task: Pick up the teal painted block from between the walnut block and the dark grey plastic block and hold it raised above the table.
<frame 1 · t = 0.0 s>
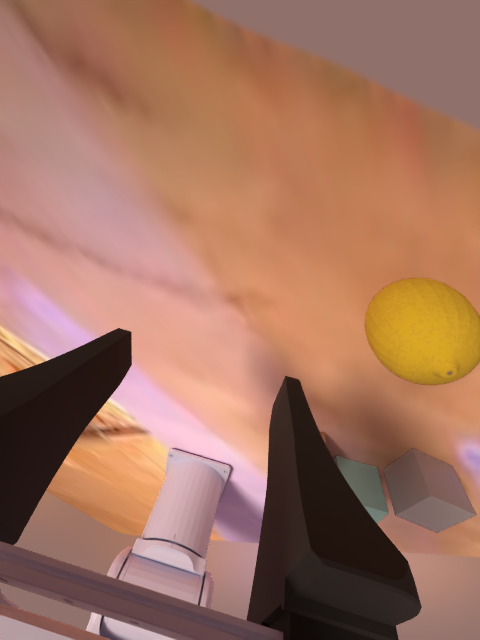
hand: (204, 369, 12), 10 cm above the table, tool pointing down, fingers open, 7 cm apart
grey block: (415, 466, 28), on the table
lemon: (395, 296, 20), on the table
teal block: (347, 471, 31), on the table
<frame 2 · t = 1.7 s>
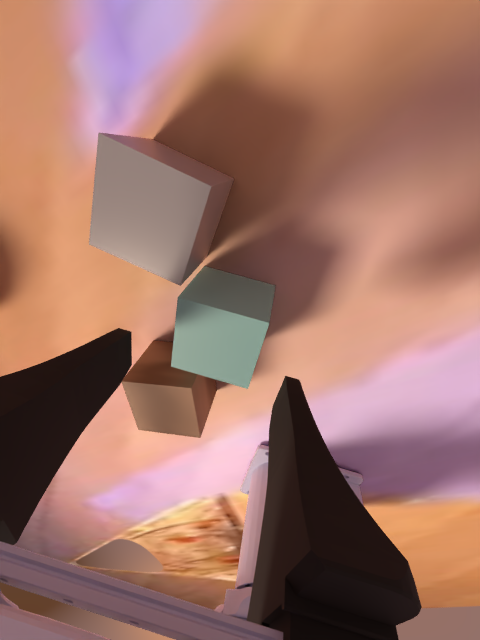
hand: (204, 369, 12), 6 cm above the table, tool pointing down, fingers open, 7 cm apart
grey block: (182, 202, 15), on the table
walnut block: (186, 365, 21), on the table
teal block: (232, 306, 18), on the table
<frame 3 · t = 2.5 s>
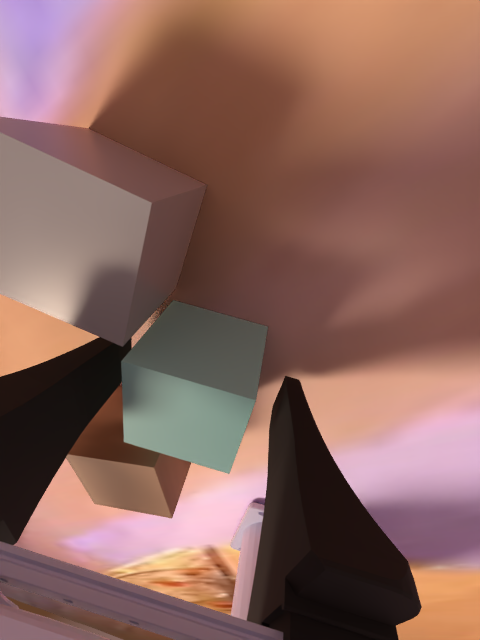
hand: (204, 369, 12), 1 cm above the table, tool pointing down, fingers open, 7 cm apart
grey block: (138, 217, 11), on the table
walnut block: (159, 414, 17), on the table
teal block: (213, 349, 14), on the table
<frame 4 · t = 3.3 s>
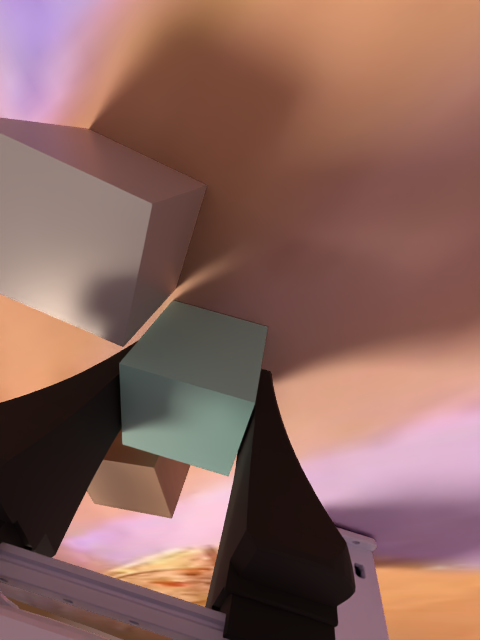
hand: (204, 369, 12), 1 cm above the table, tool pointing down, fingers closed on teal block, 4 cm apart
grey block: (138, 218, 11), on the table
walnut block: (159, 414, 17), on the table
teal block: (212, 350, 14), on the table, touching gripper
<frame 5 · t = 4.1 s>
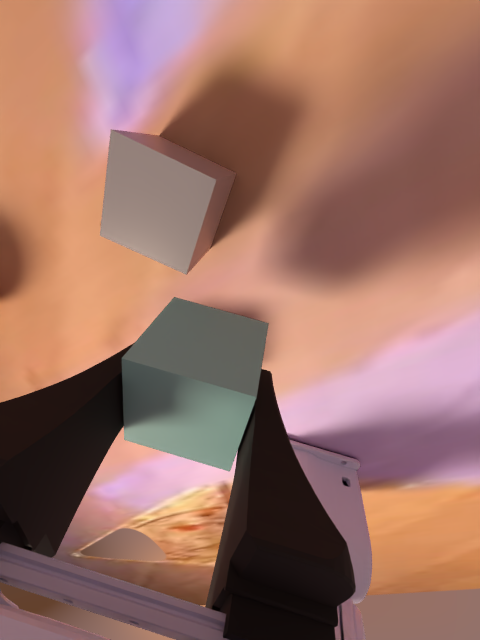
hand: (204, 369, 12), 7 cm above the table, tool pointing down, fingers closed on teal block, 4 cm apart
grey block: (187, 196, 16), on the table
teal block: (213, 347, 14), point 6 cm above the table, touching gripper
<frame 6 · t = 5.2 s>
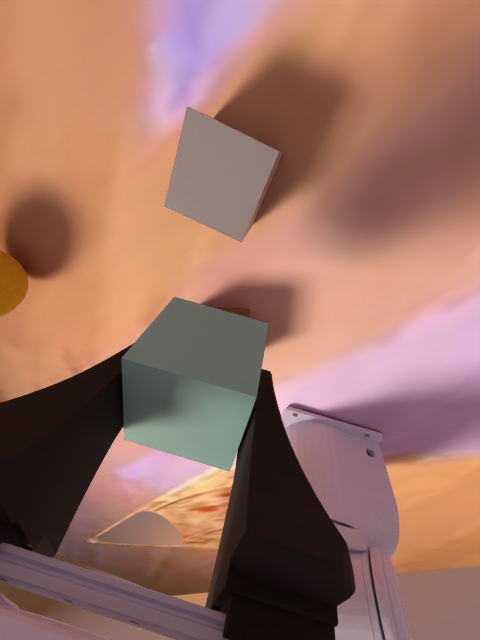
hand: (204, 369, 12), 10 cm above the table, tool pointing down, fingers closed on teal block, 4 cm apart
grey block: (234, 175, 17), on the table
lemon: (22, 265, 24), on the table
teal block: (213, 347, 14), point 8 cm above the table, touching gripper
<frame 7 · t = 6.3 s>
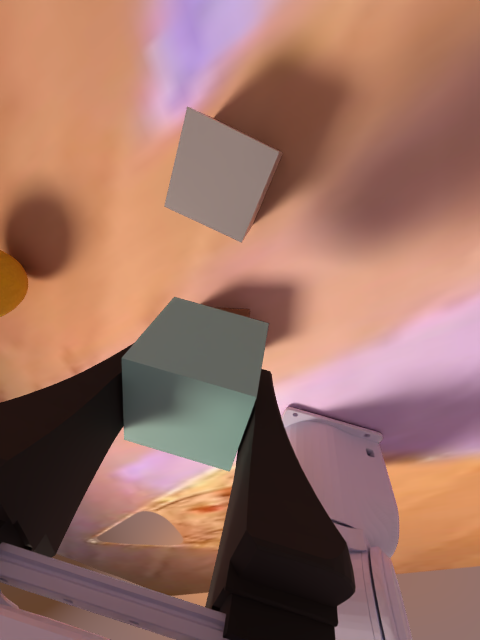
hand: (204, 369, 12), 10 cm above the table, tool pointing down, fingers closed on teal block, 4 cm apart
grey block: (234, 175, 17), on the table
lemon: (22, 265, 24), on the table
teal block: (213, 347, 14), point 8 cm above the table, touching gripper
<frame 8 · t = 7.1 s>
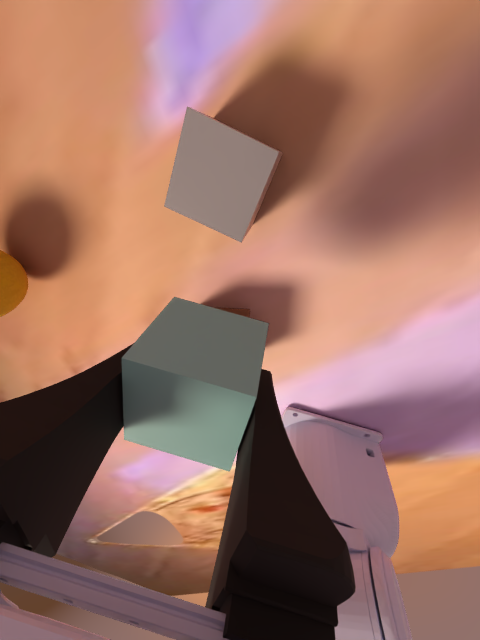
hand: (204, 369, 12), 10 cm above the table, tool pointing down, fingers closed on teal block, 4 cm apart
grey block: (234, 175, 17), on the table
lemon: (22, 265, 24), on the table
teal block: (213, 347, 14), point 8 cm above the table, touching gripper
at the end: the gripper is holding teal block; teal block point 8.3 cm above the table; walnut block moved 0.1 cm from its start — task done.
